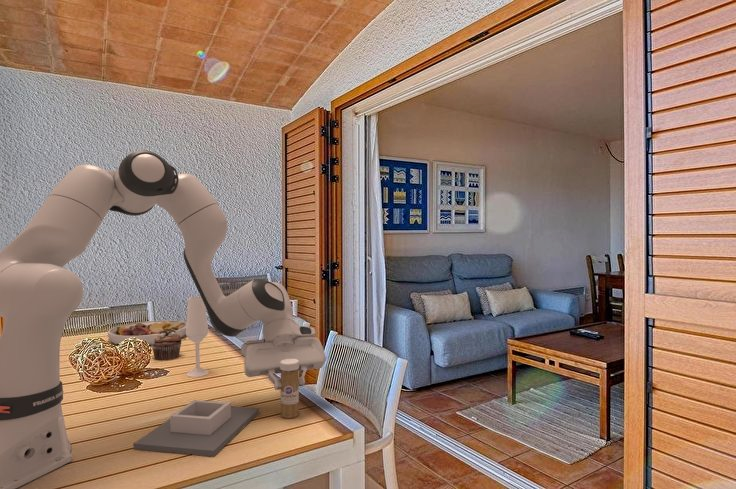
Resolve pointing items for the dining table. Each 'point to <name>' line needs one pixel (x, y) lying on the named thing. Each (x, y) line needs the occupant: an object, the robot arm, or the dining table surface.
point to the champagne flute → (196, 330)
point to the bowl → (145, 330)
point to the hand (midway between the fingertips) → (290, 386)
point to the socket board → (198, 428)
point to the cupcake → (166, 345)
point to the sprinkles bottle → (289, 388)
